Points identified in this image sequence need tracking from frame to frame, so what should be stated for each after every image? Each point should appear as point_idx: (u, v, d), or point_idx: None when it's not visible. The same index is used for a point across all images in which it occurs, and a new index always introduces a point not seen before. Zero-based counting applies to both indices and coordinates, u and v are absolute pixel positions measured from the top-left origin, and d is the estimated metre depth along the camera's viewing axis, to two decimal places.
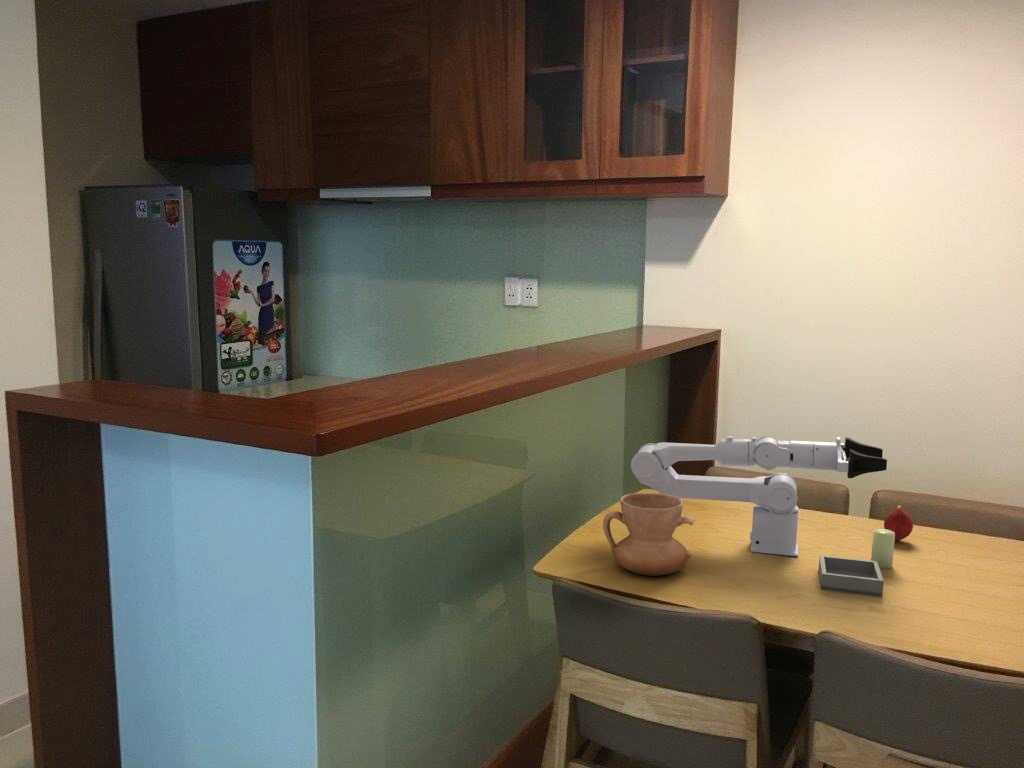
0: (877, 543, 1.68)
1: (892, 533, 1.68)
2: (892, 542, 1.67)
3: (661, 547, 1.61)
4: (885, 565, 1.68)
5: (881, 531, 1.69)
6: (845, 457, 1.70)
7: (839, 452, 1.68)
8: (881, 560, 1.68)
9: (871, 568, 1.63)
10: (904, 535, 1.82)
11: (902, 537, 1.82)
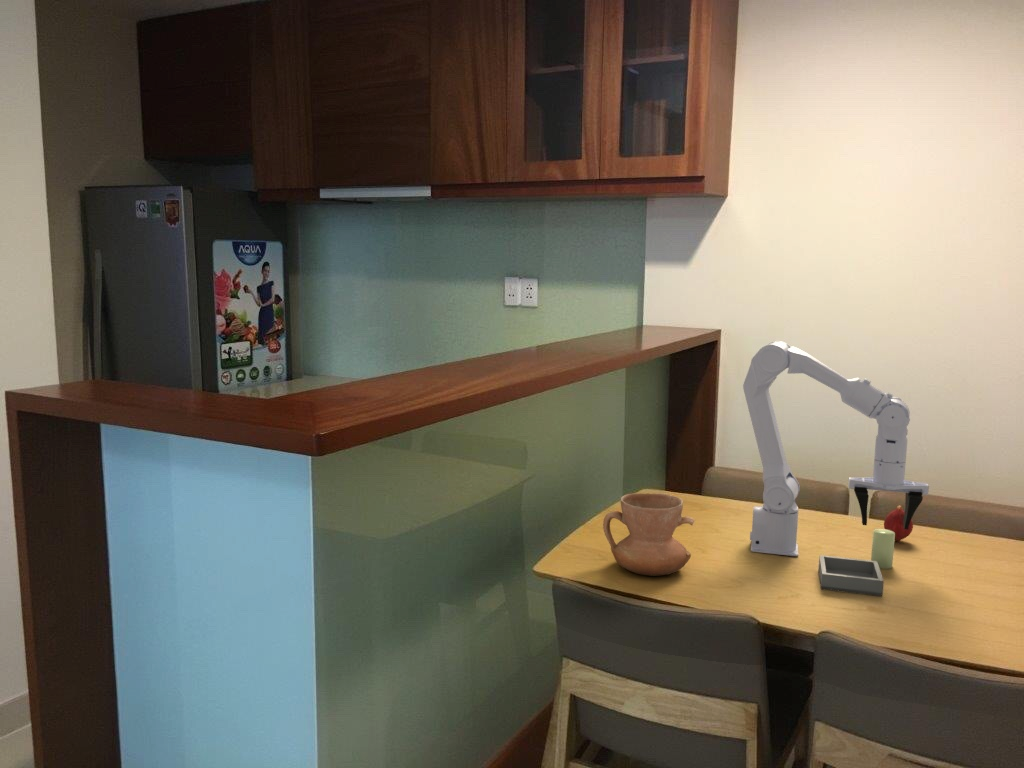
0: (877, 543, 1.68)
1: (892, 533, 1.68)
2: (892, 542, 1.67)
3: (661, 547, 1.61)
4: (885, 565, 1.68)
5: (881, 531, 1.69)
6: (880, 489, 1.68)
7: (869, 484, 1.66)
8: (881, 560, 1.68)
9: (871, 568, 1.63)
10: (904, 535, 1.82)
11: (902, 537, 1.82)
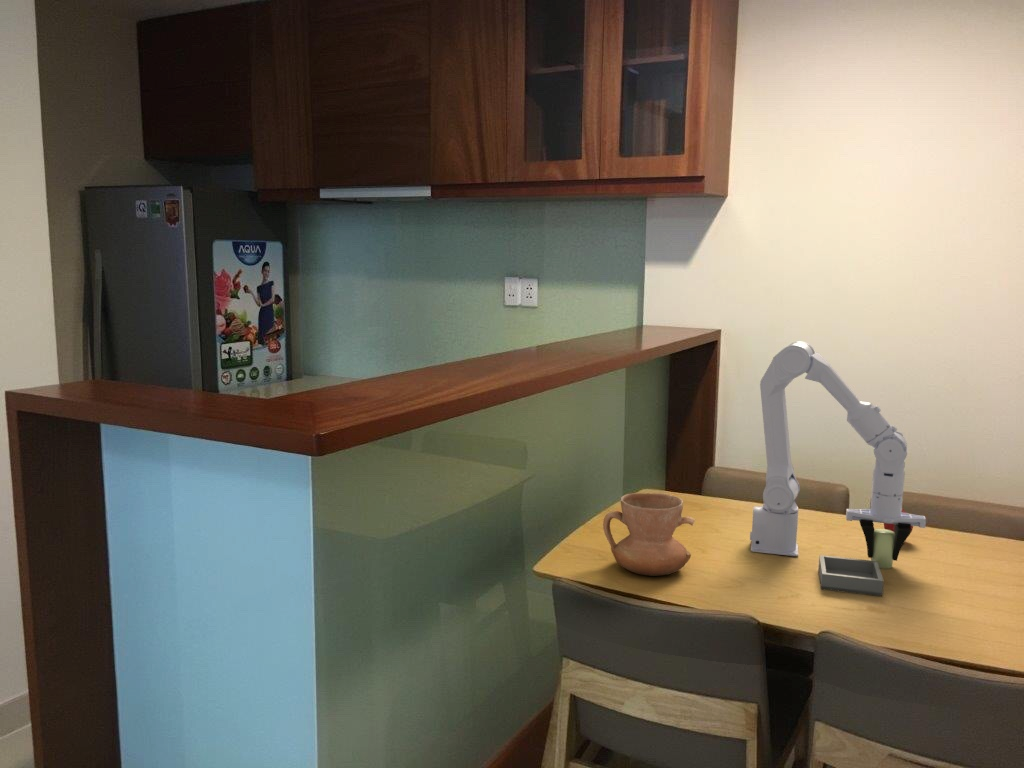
0: (877, 543, 1.68)
1: (892, 533, 1.68)
2: (892, 542, 1.67)
3: (661, 547, 1.61)
4: (885, 565, 1.68)
5: (881, 531, 1.69)
6: (877, 521, 1.69)
7: (867, 516, 1.67)
8: (881, 560, 1.68)
9: (871, 568, 1.63)
10: None
11: None
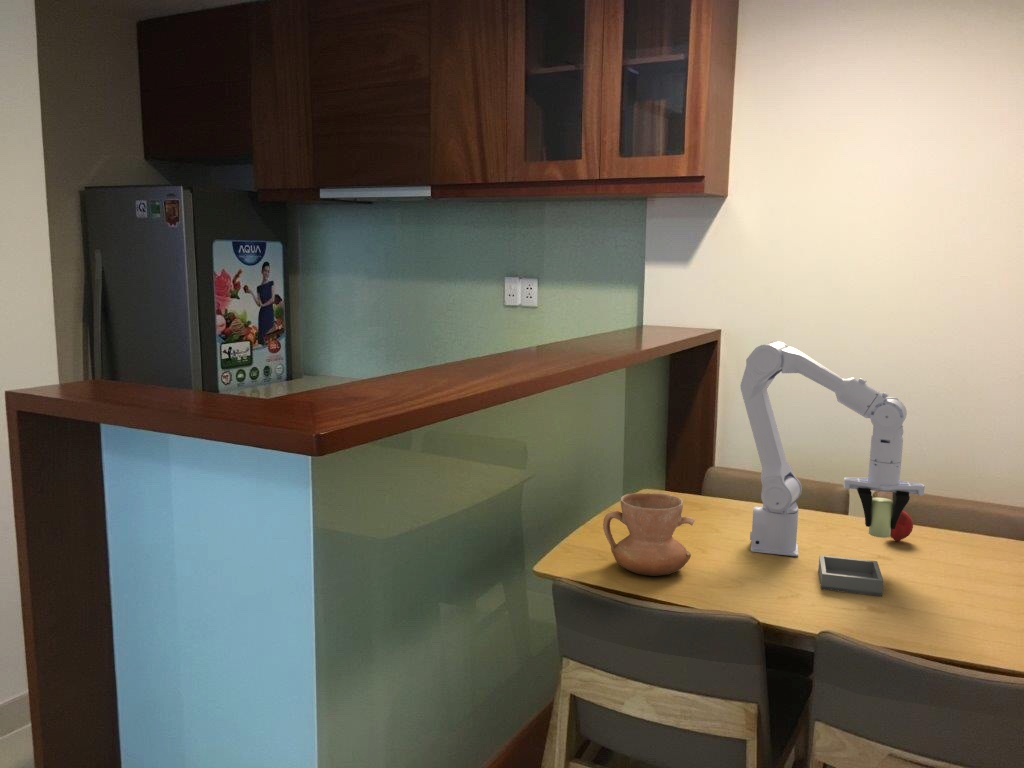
0: (875, 511, 1.65)
1: (890, 501, 1.66)
2: (890, 510, 1.65)
3: (661, 547, 1.61)
4: (883, 534, 1.65)
5: (879, 499, 1.67)
6: (875, 490, 1.66)
7: (864, 484, 1.65)
8: (879, 528, 1.65)
9: (871, 568, 1.63)
10: (904, 535, 1.82)
11: (902, 537, 1.82)
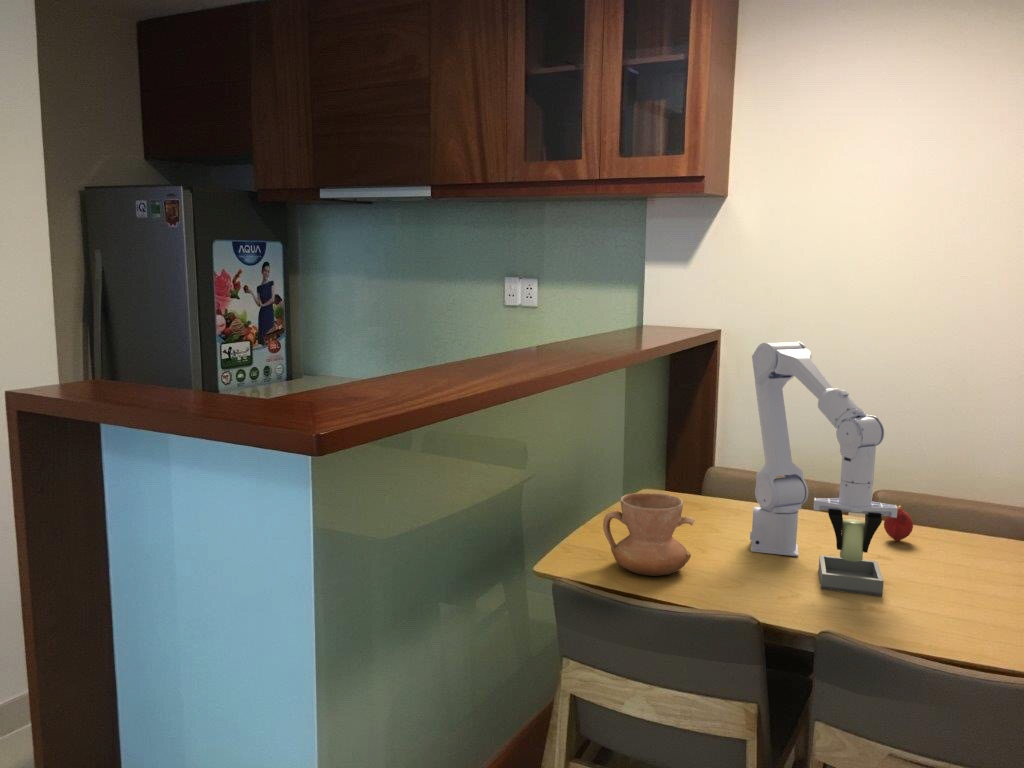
0: (846, 534, 1.58)
1: (862, 523, 1.58)
2: (862, 533, 1.57)
3: (661, 547, 1.61)
4: (855, 557, 1.58)
5: (851, 521, 1.59)
6: (846, 511, 1.58)
7: (835, 505, 1.57)
8: (850, 552, 1.58)
9: (871, 568, 1.63)
10: (904, 535, 1.82)
11: (902, 537, 1.82)
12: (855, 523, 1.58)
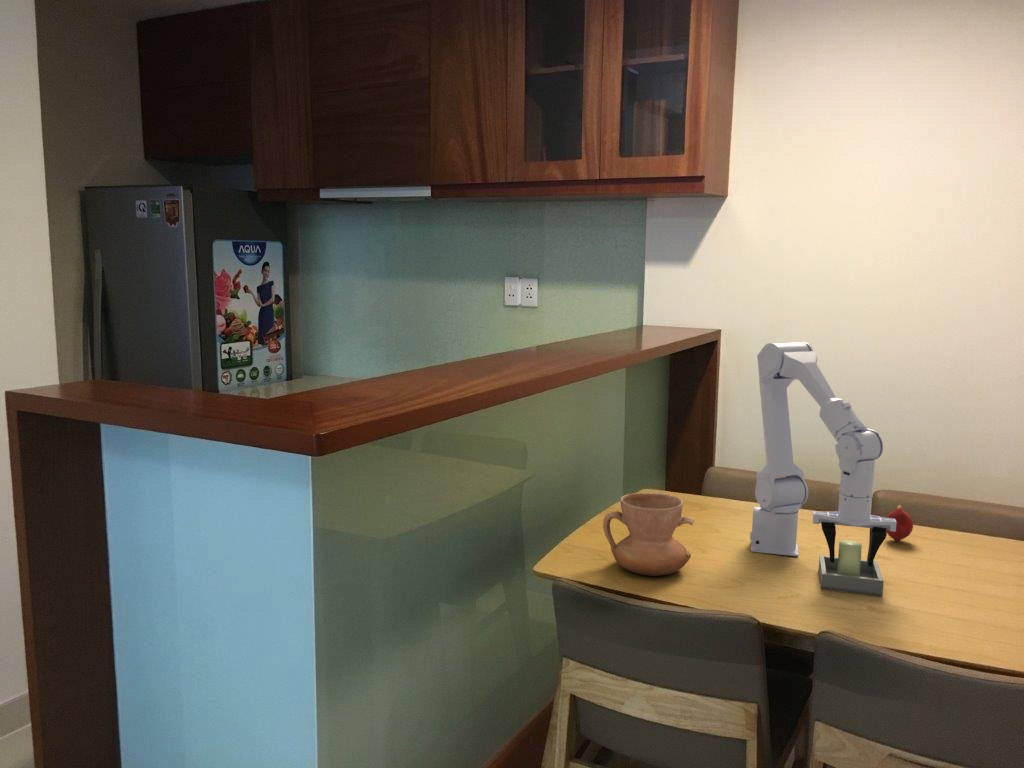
0: (843, 555, 1.59)
1: (859, 544, 1.59)
2: (859, 554, 1.58)
3: (661, 547, 1.61)
4: None
5: (847, 542, 1.60)
6: (845, 525, 1.59)
7: (834, 519, 1.58)
8: (847, 573, 1.59)
9: (871, 568, 1.63)
10: (904, 535, 1.82)
11: (902, 537, 1.82)
12: (852, 544, 1.59)
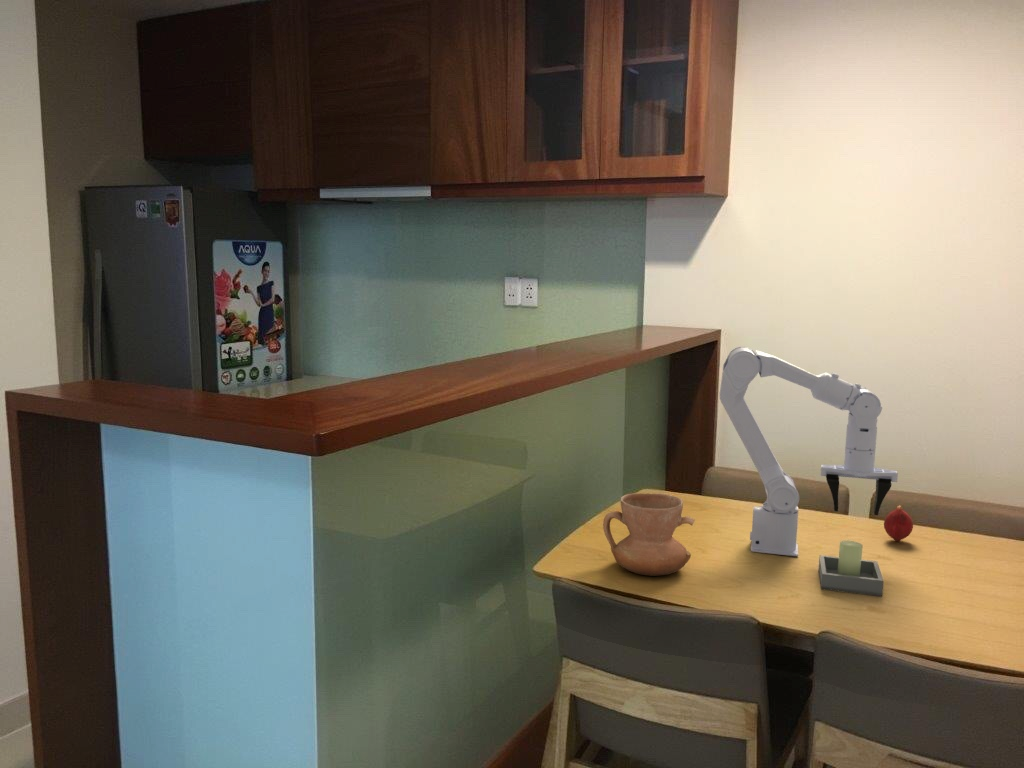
0: (844, 555, 1.59)
1: (859, 545, 1.59)
2: (859, 555, 1.58)
3: (661, 547, 1.61)
4: None
5: (848, 543, 1.60)
6: (851, 476, 1.73)
7: (840, 471, 1.72)
8: (847, 573, 1.58)
9: (871, 568, 1.63)
10: (904, 535, 1.82)
11: (902, 537, 1.82)
12: (853, 545, 1.59)
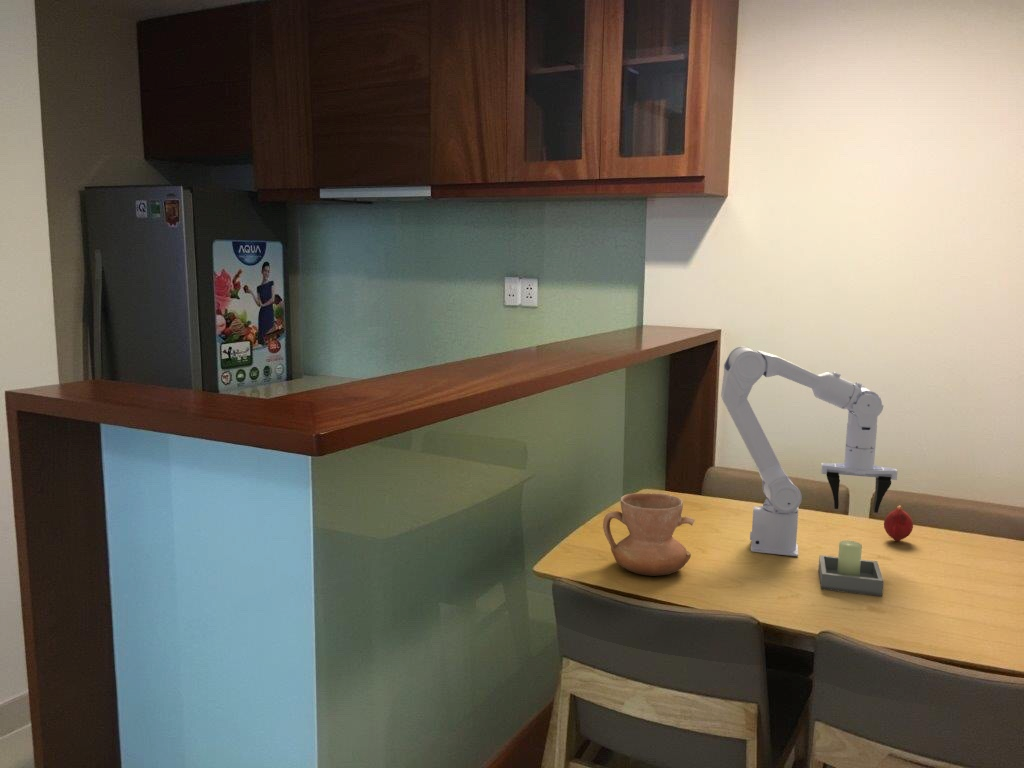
0: (844, 556, 1.58)
1: (859, 545, 1.59)
2: (859, 555, 1.58)
3: (661, 547, 1.61)
4: None
5: (847, 543, 1.60)
6: (851, 474, 1.74)
7: (840, 469, 1.73)
8: (847, 574, 1.58)
9: (871, 568, 1.63)
10: (904, 535, 1.82)
11: (902, 537, 1.82)
12: (852, 545, 1.59)
